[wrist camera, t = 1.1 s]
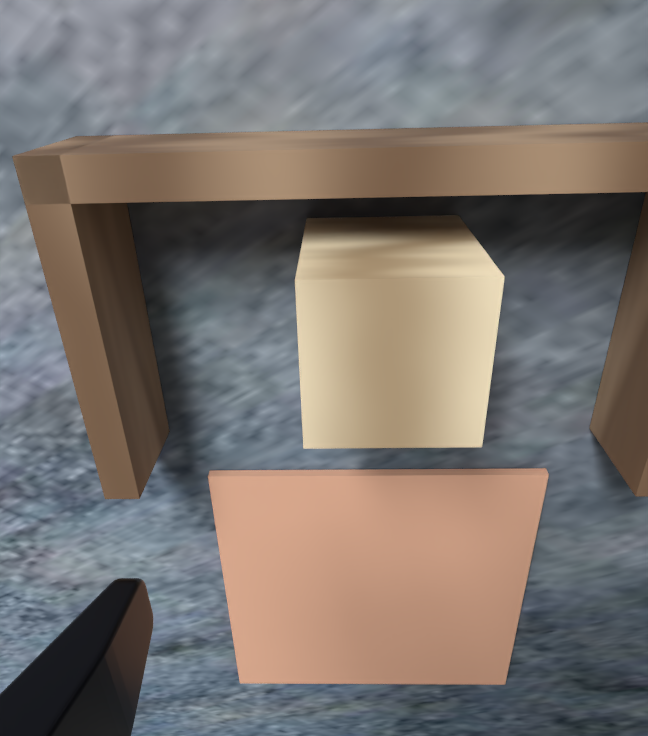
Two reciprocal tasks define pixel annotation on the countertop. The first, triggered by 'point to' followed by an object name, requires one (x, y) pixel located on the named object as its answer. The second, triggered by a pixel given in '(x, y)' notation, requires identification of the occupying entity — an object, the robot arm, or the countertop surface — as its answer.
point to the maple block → (395, 332)
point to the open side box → (298, 181)
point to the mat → (376, 572)
